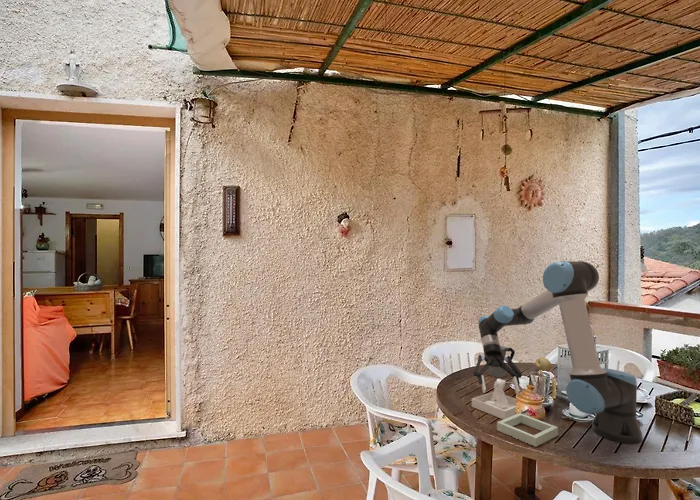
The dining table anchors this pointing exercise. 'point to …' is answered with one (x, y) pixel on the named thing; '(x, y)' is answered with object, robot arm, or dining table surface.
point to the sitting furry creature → (499, 395)
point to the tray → (493, 410)
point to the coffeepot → (499, 371)
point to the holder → (535, 440)
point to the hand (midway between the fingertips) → (501, 392)
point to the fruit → (543, 364)
